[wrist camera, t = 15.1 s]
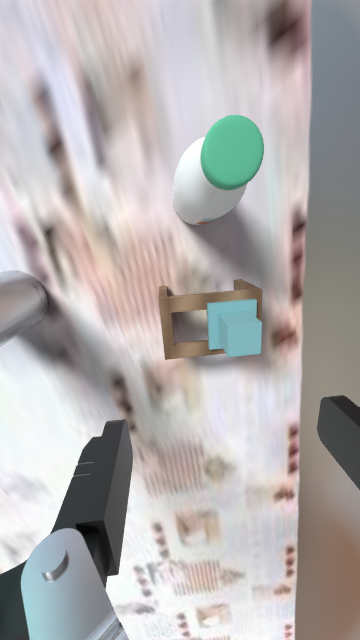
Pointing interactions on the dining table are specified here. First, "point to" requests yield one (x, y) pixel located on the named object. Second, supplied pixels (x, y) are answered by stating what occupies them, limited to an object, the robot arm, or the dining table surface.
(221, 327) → the teal peg
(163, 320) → the brown keyhole frame
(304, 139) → the dining table surface
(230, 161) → the milk bottle
